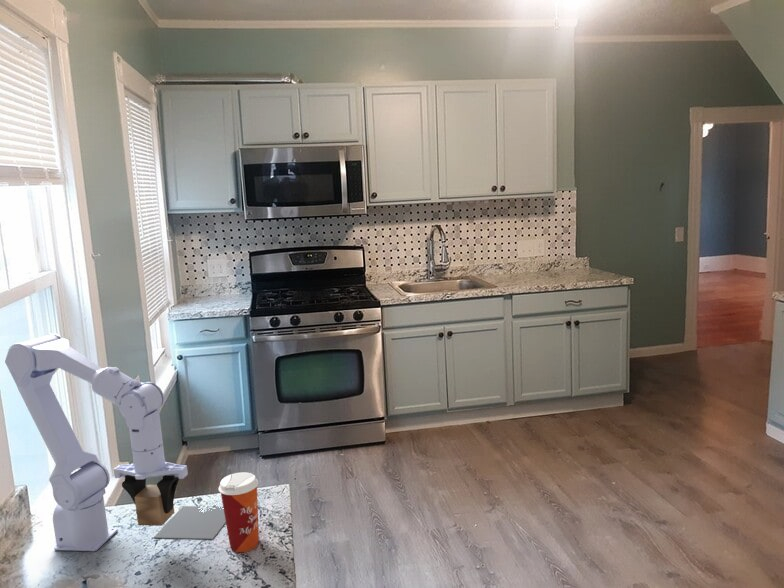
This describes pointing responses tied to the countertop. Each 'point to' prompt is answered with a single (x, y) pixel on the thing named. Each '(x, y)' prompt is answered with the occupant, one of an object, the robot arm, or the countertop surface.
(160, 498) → the walnut block
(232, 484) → the paper cup
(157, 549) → the countertop surface
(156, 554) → the countertop surface
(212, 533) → the slate mat
